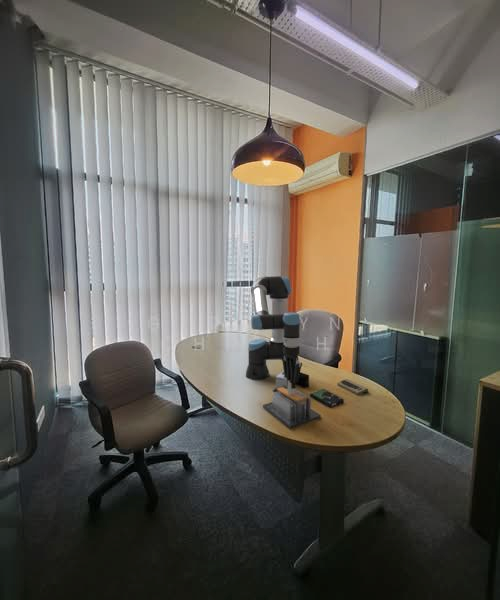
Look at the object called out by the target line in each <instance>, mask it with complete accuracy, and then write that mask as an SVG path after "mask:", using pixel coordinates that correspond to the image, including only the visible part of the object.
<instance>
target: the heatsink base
mask: <svg viewBox="0 0 500 600" xmlns="http://www.w3.org/2000/svg"><path fill="white" fill-rule="evenodd" d="M283 388H285V389H287V386H285V385H283ZM272 392H273V394H272V397H271V398H272V402H269V403H265V404H263V405H262V409H264V410H265V411H266V412H268V413H269V414H270V415H271V416H273V417H274V419H276V420H277V421H279V422H280V423H281V424H283V425H284V426H285V427H287V428H288V429H289V430H292V429H296V428H298V427H301V426H304V425H307V424H309V423H311V422H315V421H317V420H320V419H321V418H322V415H321V414H320V413H318V412H317V411H315V410H314V409H312V408H311V406H312V405H311V404H312V403H311V401H312V400H311V397H310V396H308V395H305V394H304V393H303V392H301V391H299V390H298V389H296V388H295V394H297V395H299V396H301V397H303V398H304V397H306V398H307V402H304V403H301V402H300V401H299V400H296V401H294V400H292V399H291V398H289V397H287V396H285V395H283V394H281V393H278V392H277V389H276V387H273V389H272Z"/></svg>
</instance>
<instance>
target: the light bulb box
mask: <svg viewBox="0 0 500 600" xmlns="http://www.w3.org/2000/svg"><path fill="white" fill-rule="evenodd" d="M286 375H287V374H286ZM283 385H285V386H287V390H288V385H287V378H285V377H284V370H281V372H279V373H278V374H277V375H276V376H275V388H276V389H277V388H281V387H283ZM277 392H278V391H277ZM278 393H280V392H278Z"/></svg>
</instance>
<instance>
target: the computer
mask: <svg viewBox="0 0 500 600" xmlns="http://www.w3.org/2000/svg"><path fill="white" fill-rule="evenodd" d="M337 386H339V387H340V388H342V389H345V390H347V391H348V392H351V393H352V394H355V395H356V396H358V397H359V396H362V395H364V394H369V388H367V387H365V386H363V385H360V384H359V383H357V382H354V381H352V380H350V379H348V378H345V379H343V380H340V381H338V382H337Z"/></svg>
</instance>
